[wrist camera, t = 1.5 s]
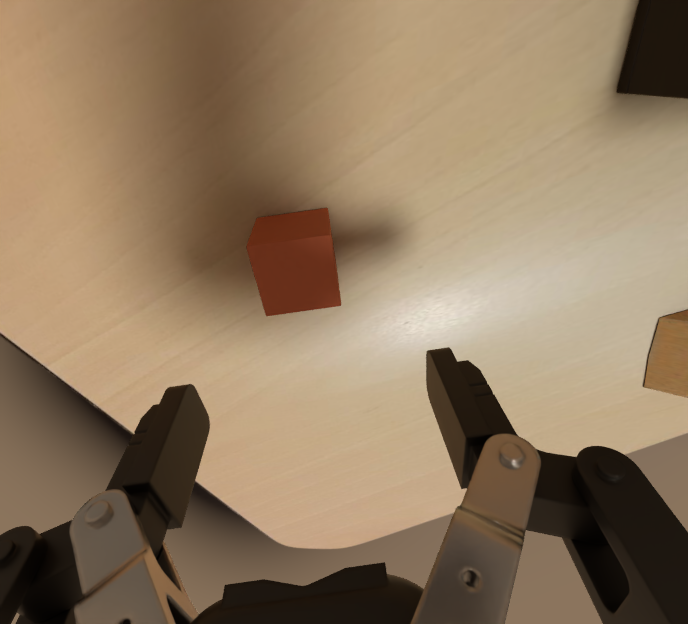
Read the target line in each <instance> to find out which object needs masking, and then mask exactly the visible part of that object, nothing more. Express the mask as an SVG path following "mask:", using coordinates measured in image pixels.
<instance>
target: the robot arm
mask: <svg viewBox="0 0 688 624" xmlns="http://www.w3.org/2000/svg"><path fill="white" fill-rule="evenodd" d="M426 382H427V391H428V396H429V400H430V403H431V406H432V409H433V411H434V414H435V417H436V420H437V422H438V425H439V428H440V431H441V433H442V436H443V439H444V442H445V445H446V447H447V450H448V453H449V456H450V458H451V461H452V464H453V467H454V470H455V472H456V475H457V478H458V481H459V483H460V486H461V489H464V488H467V491H466V493H465V496H464V499H463V501H462V503H461V505H460V506H458V507H457V508H456V510H455V512H454V514H453V517H452V519H451V522H450V524H449V527H448V529H447V532H446V534H445V537H444V539H443V542H442V545H441V547H440V550H439V552H438V555H437V558H436V560H435V563H434V565H433V568H432V570H431V573H430V575H429V578H428V581H427V583H426V586H425V588H424V589H423V588H421V587H420V586H418V585H417V584H415V583H413V582H411V581H409V580H407V579H404V578H401V577H397V576H394V575H389V574H387V573H386V566H385V563H377V564H371V565H363V566H356V567H349V568H344V569H342V570H340V571H338V572H336V573H333V574H331V575H329V576H327V577H325V578H323V579H320V580H318V581H316V582H314V583H311V584H309V585H306V586H298V585H293V584H287V583H281V582H275V581H270V580H257V581H250V582H243V583H236V584H228V585H225V587H224V593H223V599H222V600H220V601H218V602H216V603H214V604H213V605H211V606H210V607H208V608H207V609H205V610H204V611H203V612H202V613H200V614H199V613H198V612H197V610H196V608H195V607H194V605H193V604H192V602H191V600H190V599H189V597H188V594H187V592H186V590H185V588H184V585H183V583H182V581H181V578H180V576H179V574H178V571H177V569H176V567H175V565H174V562H173V560H172V558H171V555H170V553H169V551H168V549H167V547H166V544H165V543H164V541H163V540H164V537H165V534H166V531H167V529H174V528H181V527H182V524H183V521H184V517H185V514H186V510H187V507H188V503H189V500H190V496H191V493H192V489H193V486H194V482H195V479H196V475H197V472H198V469H199V465H200V462H201V458H202V455H203V451H204V448H205V444H206V441H207V437H208V434H209V428H210V422H209V416H208V413H207V411H206V409H205V407H204V405H203V403H202V401H201V399H200V397H199V395H198V393H197V390H196V388H195V387H194V386H193V385H192V384H189V385H182V386H175V387H169V388H167V389H166V391H165V393H164V395H163V397H162V399H161V402H160V404H157V405H153V406H152V407H151V408H150V409H149V410H148V412H147V413H146V414H145V415H144V416H143V417H142V418H141V420H140V422H139V424H138V426H137V428H136V430H135V435H133V436H132V438H131V440H130V442H129V446H128V447H127V448H126V450H125V452H124V454H123V456H122V458H121V460H120V462H119V464H118V466H117V468H116V471H115V473H114V474H113V477H112V479H111V481H110V483H109V485H108V487H107V489H106V490H105V491H104V492H102V493H99V494H97V495H96V496H94V497H93V498H91V499H90V500H89V501H87V502H86V503H85V504H84V505H83V506H82V507H81V508H80V509H79V511H78V512H77V513H76V515H75V516H74V518H73V520H71V521H69V522H66V523H64V524H62V525H59V526H57V527H55V528H53V529H50V530H48V531H46V532H43V533H41V534H38V533H37V532H36V531H35V530H33V529H32V528H31V527H28V526H21V527H16V528H13V529H11V530H9V531H7V532H5V533H3V534H2V535H0V624H11V623H12V621H13V619H14V617H15V615H16V613H19V614H20V616H19V618H18V620H17V622H16V624H505V620H506V615H507V611H508V607H509V603H510V598H511V594H512V589H513V585H514V581H515V577H516V573H517V568H518V564H519V560H520V555H521V551H522V546H523V542H524V536H525V531H526V530H528V531H534V532H538V533H544V534H548V535H553V536H558V537H562V539H563V541H564V543H565V545H566V547H567V549H568V551H569V553H570V555H571V558H572V560H573V561H574V563H575V566H576V568H577V570H578V572H579V574H580V576H581V578H582V580H583V583H584V585H585V587H586V589H587V591H588V593H589V595H590V597H591V599H592V601H593V604H594V606H595V608H596V610H597V612H598V614H599V616H600V618H601V620H602V622H603V624H688V532H687V531H686V530H685V528H684V527H683V526H682V524H681V523H680V522H679V520H678V519H677V518H676V516H675V515H674V514H673V512H672V511H671V510H670V508H669V507H668V506H667V505H666V503H665V502H664V500H663V499H662V498H661V496H660V495H659V494H658V493H657V491H656V490H655V489H654V487H653V486H652V485H651V483H650V482H649V481H648V479H647V478H646V477H645V475H644V474H643V473H642V471H641V470H640V469H639V467H638V466H637V465H636V464H635V463H634V462H633V461H632V460H631V459H629V458H628V457H627V456H625V455H624V454H622V453H620V452H618V451H616V450H613V449H611V448H607V447H602V446H591V447H587V448H584V449H583V450H581V451H580V452H579V454H578V456H577V457H572V456H565V455H558V454H551V453H546V452H543V451H540V450H537V449H535V448H534V447H533V446H532V445H531V444H530V443H529V442H528V441H526V440H525V439H523V438H521V437H519V436H518V435H517V434H516V432H515V431H514V429H513V427H512V425H511V424H510V422H509V420H508V418H507V417H506V415H505V413H504V411H503V410H502V408H501V406H500V404H499V402H498V401H497V399H496V397H495V395H493V392H492V390H491V388H490V387H489V385H487V381H486V380H485V378H484V376H483V374H482V373H481V371H480V370H479V369H478V368H477V367H476V366H474V365H473V364H472V363H471V362H469V361H468V360H467V361H460V362H457V360H456V358H455V356H454V354H453V352H452V350H451V349H450V348H442V349H435V350H428V351H427V354H426Z"/></svg>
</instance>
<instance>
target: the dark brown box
mask: <svg viewBox="0 0 688 624" xmlns="http://www.w3.org/2000/svg"><path fill="white" fill-rule="evenodd" d="M617 93H624V94H636V95H649V96H662V97H675V98H687V99H688V0H640V1H639V5H638V9H637V13H636V17H635V21H634V25H633V29H632V33H631V37H630V41H629V45H628V49H627V53H626V57H625V61H624V65H623V69H622V73H621V77H620V81H619V85H618V89H617Z"/></svg>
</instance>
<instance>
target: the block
mask: <svg viewBox="0 0 688 624" xmlns="http://www.w3.org/2000/svg"><path fill="white" fill-rule="evenodd" d="M246 248H247V252H248V255H249V258H250V262H251V265H252V269H253V272H254V276H255V279H256V283H257V286H258V290H259V293H260V296H261V300H262V303H263V307H264V310H265V314H266V316H272V315H279V314H286V313H293V312H300V311H307V310H314V309H321V308H328V307H335V306H341V299H340V291H339V282H338V274H337V267H336V260H335V253H334V247H333V240H332V233H331V226H330V219H329V212H328V208H323V209H316V210H309V211H302V212H295V213H288V214H281V215H274V216H267V217H260V218H257V219H256V222H255V224H254V227H253V230H252V232H251V235H250V238H249V241H248V243H247V246H246Z"/></svg>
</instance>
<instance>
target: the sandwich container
mask: <svg viewBox="0 0 688 624" xmlns="http://www.w3.org/2000/svg"><path fill="white" fill-rule="evenodd" d="M644 387H645V388H649V389H653V390H657V391H662V392H666V393H670V394H674V395H678V396H682V397H687V398H688V310H686V311H682V312H679V313H675V314H671V315H668V316H664V317H661V318H659V323H658V327H657V330H656V334H655V337H654V340H653V344H652V347H651V351H650V354H649V358H648V365H647V372H646V379H645V385H644Z"/></svg>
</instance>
